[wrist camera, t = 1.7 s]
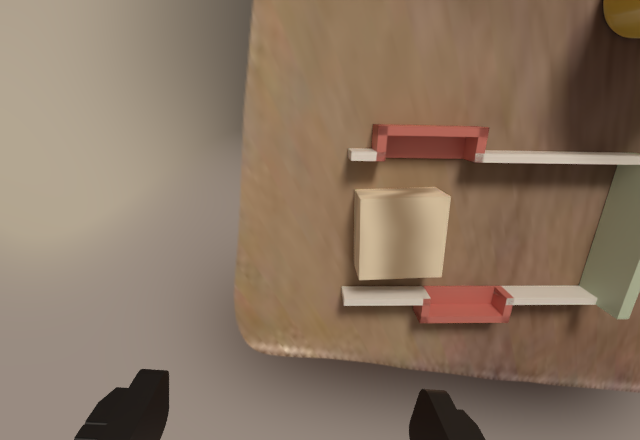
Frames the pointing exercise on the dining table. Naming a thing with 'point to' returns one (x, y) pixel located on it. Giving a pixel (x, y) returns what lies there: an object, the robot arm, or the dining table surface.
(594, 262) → the trap lane
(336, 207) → the dining table surface
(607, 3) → the plant pot
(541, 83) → the dining table surface
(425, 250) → the birch block
